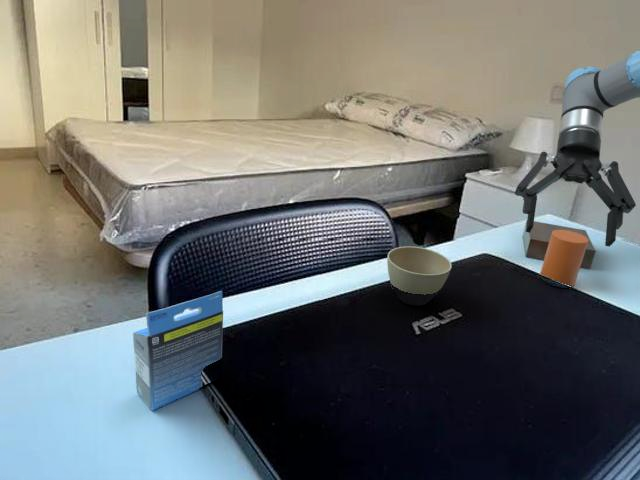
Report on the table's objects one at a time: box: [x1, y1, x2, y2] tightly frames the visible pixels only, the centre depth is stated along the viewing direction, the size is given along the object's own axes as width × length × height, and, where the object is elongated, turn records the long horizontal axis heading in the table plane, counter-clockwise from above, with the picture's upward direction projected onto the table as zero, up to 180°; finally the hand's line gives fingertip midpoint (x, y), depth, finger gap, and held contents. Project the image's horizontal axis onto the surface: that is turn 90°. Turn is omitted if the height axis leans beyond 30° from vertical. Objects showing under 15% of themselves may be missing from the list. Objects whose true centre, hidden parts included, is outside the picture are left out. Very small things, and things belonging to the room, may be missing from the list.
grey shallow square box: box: [522, 220, 596, 270], centre depth 104 cm, size 12×12×4 cm
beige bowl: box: [386, 245, 453, 295], centre depth 80 cm, size 10×10×7 cm
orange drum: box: [539, 230, 589, 288], centre depth 90 cm, size 6×6×9 cm
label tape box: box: [132, 290, 224, 411], centre depth 55 cm, size 9×4×12 cm, turn 133°
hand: (569, 236), depth 90 cm, fingers open, 13 cm apart
